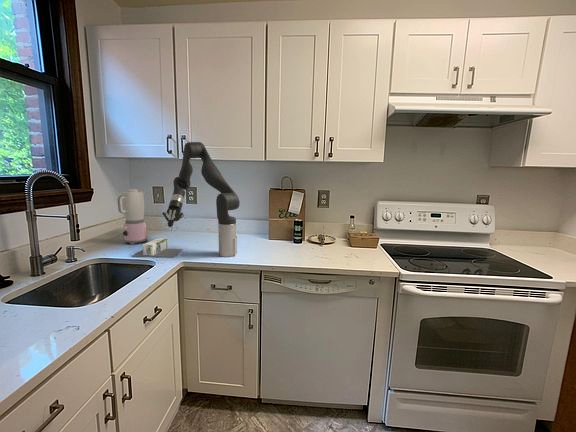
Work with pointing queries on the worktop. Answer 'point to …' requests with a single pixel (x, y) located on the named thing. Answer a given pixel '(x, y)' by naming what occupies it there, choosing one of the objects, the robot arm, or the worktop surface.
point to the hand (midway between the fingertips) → (169, 226)
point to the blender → (133, 216)
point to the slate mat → (160, 253)
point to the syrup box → (155, 246)
